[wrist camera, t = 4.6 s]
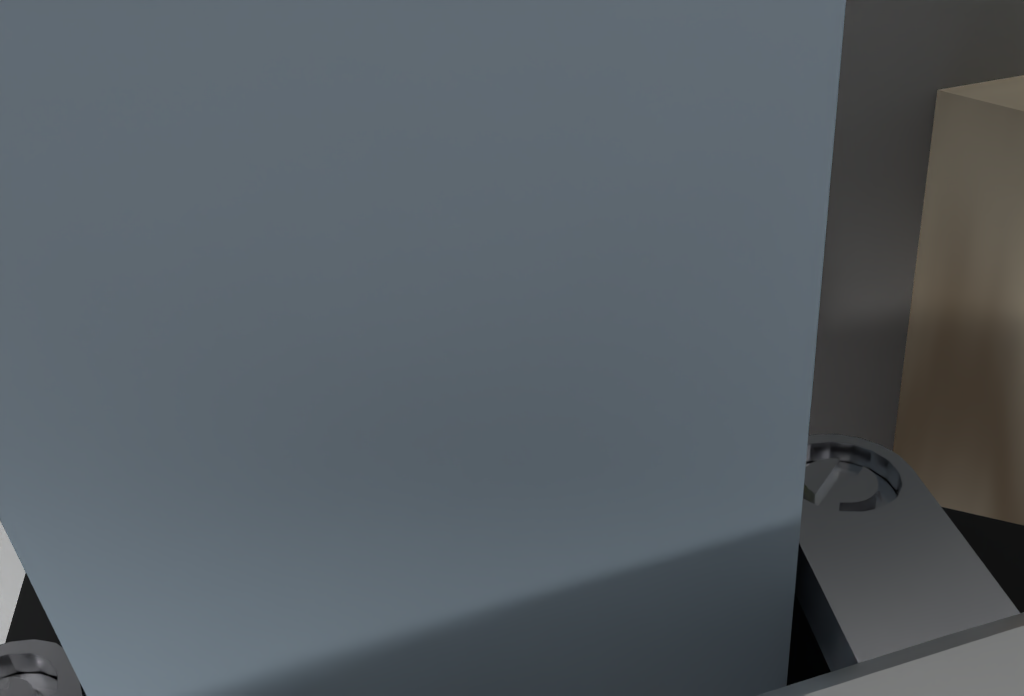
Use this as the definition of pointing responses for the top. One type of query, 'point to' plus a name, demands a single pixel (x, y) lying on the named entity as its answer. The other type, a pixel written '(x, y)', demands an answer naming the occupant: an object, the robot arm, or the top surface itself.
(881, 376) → the top surface
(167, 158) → the light blue rectangular block
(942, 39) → the top surface
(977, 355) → the beige rectangular block
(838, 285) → the top surface
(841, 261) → the top surface
